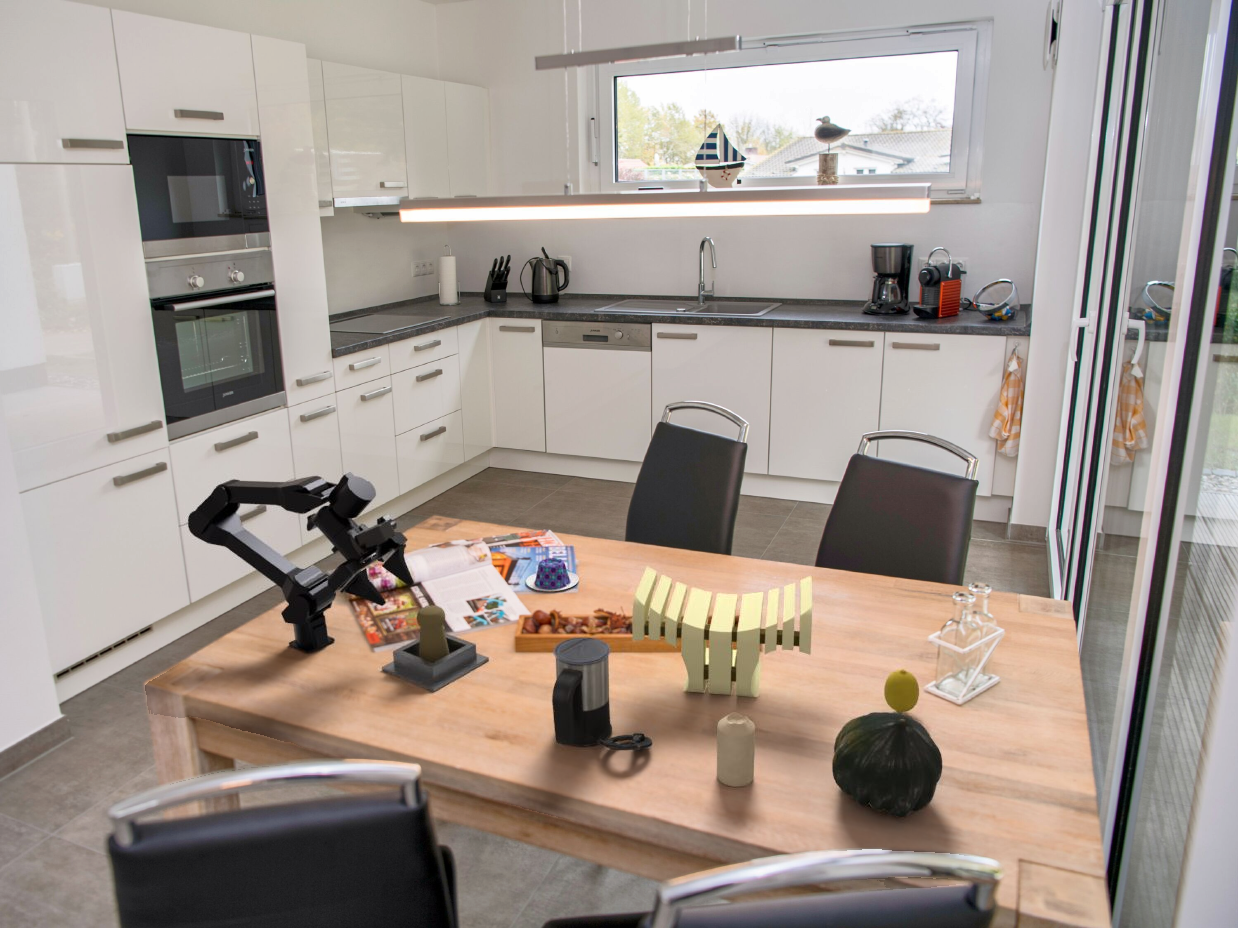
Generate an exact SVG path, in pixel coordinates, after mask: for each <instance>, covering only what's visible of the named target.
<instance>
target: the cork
mask: <svg viewBox="0 0 1238 928" xmlns="http://www.w3.org/2000/svg"><path fill="white" fill-rule="evenodd" d="M445 621H446V613H445V610H444V609H443V608H442V607H441V606H438V605H426V606H424V607H421V608H420V609H419V610H418V611H417V614H416V622H417V624H418V626H419V627H420V628H419V629H420V631H419V638H420V645H419V658H422V659H424V660H427V661H429V662H432V663H434V662H436V661H438V660H440V659H442V658H444V657H445V656H447V655H449V654H450V653H449V649H448V644H447V640H446V636H445V633H446V631H445V627H444V623H445Z"/></svg>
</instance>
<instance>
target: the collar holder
mask: <svg viewBox="0 0 1238 928" xmlns="http://www.w3.org/2000/svg"><path fill="white" fill-rule="evenodd" d="M445 636H446V640H447V644H448V649H449V653H450V654H449V655H447V656H445V657H444V658H442V659H440V660H438V661H436V662H434V663H432V662H429V661H427V660H424V659H422V658H419V645H420V637H419V638H417V639H415V640H413V641H411V642H408V643H407V644H404V645H403V646H400V647H399V648H397V649H394V650H392V657H393V658H392V659H393V661H390V662H389V663H386V664H385V665H383V666H381V670H382V671H384V672H386V673H389V674H391V675H393V676H396V677H398V678H400V679H402V680H405V681H407V682H409V683H412V684H414V685H416V686H419V687H421V688H423V689H425V690H428V691H430V692H433V693H435V692H436V691H438V690H440V689H441V688H443V687H445V686H447V685H449V684H450V683H451V682H454V681H456V680H458V679H459V678H461V677H462V676H464V675H466V674H467V673H469V672H471V671H473V670H474V669H476V668H478V667H480V666H482V665H484V664H485V663H488V662H489V661H490V658H489V656H486V655H483V654H481V653H478V652H477V646H476V645H477V644H476V643H473V642H471V641H468V640H464V639H462V638H460V637H457V636H454V635H452V634H450V633H446V632H445Z"/></svg>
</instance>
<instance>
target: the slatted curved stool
mask: <svg viewBox="0 0 1238 928" xmlns="http://www.w3.org/2000/svg"><path fill="white" fill-rule="evenodd" d="M812 580H813V579H812V575H809V576H807V577H804V578H802V579H800V588H799V591H800V592H799V595H800V596H799V601H800V602H799V630H795V618H796V617H795V612H796V611H795V610H796V608H795V607H796V582H791V583H790V584H787V585H786V584H785V585H784V590H783V591H784V592H783V611H782V612H783V615H782V629H778V621H779V620H778V619H779V603H780V602H779V601H780V587H776V588H773V589H769V590H768V595H767V596H768V598H767V609H766V618H765V628H762V620H763V619H762V618H763V609H764V608H763V606H764V591H759V592H752V593H743V594H742V597H741V603H740V604H741V605H740V610H739V617H738V618H739V619H738V625H737V626H735V621H736V613H737V607H738V606H737V605H738V599H739V598H738V597H739V595H738V594H737V593H735V594H734V593H732V594H731V593H730V594H729V593H720V592H719V593H718V592H717V594H716V598H715V602H714V605H713V607H714V608H713V611H712V615H711V621H710V624H709V623H708V622H709V616H710V610H711V605H712V601H713V592H712V591H709V590H708V591H707V590H705V589H704V590H703V589H700V588H696V587H693V586H692V587H691V590H690V594H689V597H688V600H687V604H686V608H685V611H684V615H683V610H684V605H685V601H686V597H687V593H688V585H686V584H685V583H681V582H679V581H676V583H675V586H674V590H673V593H672V596H671V599H670V603H669V605H668V602H669V598H670V594H671V591H672V588H673V579H672V578H670V577H668V576H666V575H664V574H661V577H660V579H659V582H658V571H656V570H655V569H653V568H651V567H650V566H649V565H646V568H645V571H644V572H643V575H642V578H641V579H640V582H639V584H638V586H637V590H636V592H635V594H634V598H633V604H632V617H631V618H632V625H631V626H632V642H633V643H635V642H641V641H644V639H645V637H646V636H648V641H656V642H660V640H661V638H663V637H664V642H665V643H666V644H669V645H670V646H672V647H674V648H675V649H677V646H678V642H679V639H680V640H681V642H680V643H681V647H680V648H681V651H680V652H681V653H680V656H681V657H682V661H683V662H684V665H685V669H686V672H687V675H686V679H685V683H684V686H683V691H684V692H692V693H693V692H694V693H701V694H702V693H705V691H706V689H707V686H706V685H707V684H708V693H709V694H715V695H716V694H717V695H728V696H731V695H732V694H733V693H732V692H733V686H734V683H735V695H736V696H739V697H741V696H742V697H752V698H753V697H754V698H758V697H759V694H760V683H761V682H760V681H761V671H762V659H761V658H760V654H761V653H760V652H761V645H764V655H767V654H768V653H772V652H775V651H777V646H781V650H782V651H794V647H798V652H799V653H803V654H806V655H809V656H810V655H812V654H811V653H812V652H811V651H812V649H811V648H812V630H813V629H812V628H813V627H812V626H813V625H812V624H813V592H812V591H813V587H812V586H813V585H812V584H813V583H812ZM657 582H658V585H657ZM656 585H657V588H656ZM655 588H656V589H655ZM654 591H655V592H654ZM652 597H653V598H652ZM667 605H668V608H667ZM666 610H667V611H666ZM682 615H683V618H682ZM681 620H682V621H681ZM707 641H708V647H707ZM734 643H736V649H734ZM707 682H708V683H707Z"/></svg>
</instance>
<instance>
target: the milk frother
mask: <svg viewBox="0 0 1238 928" xmlns="http://www.w3.org/2000/svg"><path fill="white" fill-rule="evenodd" d="M610 653H611V647H610V645H609V644H608V643H607V642H605V641H603V640H601V639H598V638H593V637H573V638H569V639H565V640H563V641H560V642H559V643H558V644H556V645H555V646H554V648H553V655H554V657H555V670H556V671H555V672H556V673H555V675H556V679H555V682H554V685H553V690H552V696H551V698H552V699H551V703H552V713H553V723H554V724H553V725H554V735H555V737H554V738H555V742H556V743H558V744H559V745H565V746H575V747H590V746H595V745H598V744H599V745H600V746H603V747H604V748H608V749H610V750H614V751H640V750H641V751H642V750H643V751H644V750H645V749H648V748H651V747H652V746H653V739H652V738H650V737H648V736H646V735H645V733H643V732H634V733H633V734H621V735H616V736H613V737H610V736H611V735H612V732H613V727H612V724H611V711H610V709H611V708H610V668H609V655H610ZM625 741H630V743H619V742H625Z"/></svg>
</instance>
